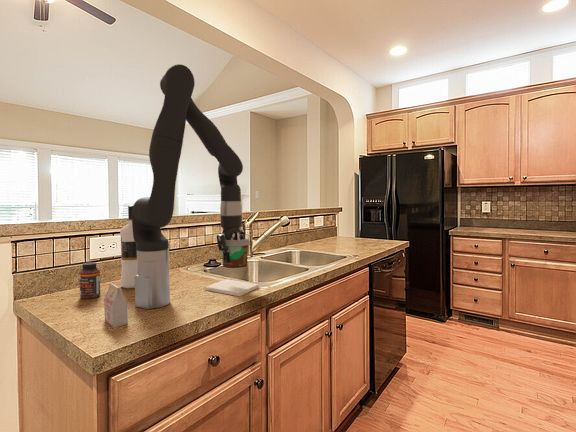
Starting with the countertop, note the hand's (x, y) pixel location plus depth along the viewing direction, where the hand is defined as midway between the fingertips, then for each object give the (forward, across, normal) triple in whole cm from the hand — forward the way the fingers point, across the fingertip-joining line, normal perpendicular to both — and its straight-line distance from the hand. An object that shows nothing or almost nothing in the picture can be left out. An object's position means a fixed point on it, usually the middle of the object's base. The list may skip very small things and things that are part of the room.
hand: (231, 260), depth 122 cm
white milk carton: (+10, -40, +8) cm, 42 cm away
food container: (+2, -1, 0) cm, 2 cm away
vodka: (+10, -14, +35) cm, 39 cm away
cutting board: (+10, 0, 0) cm, 10 cm away
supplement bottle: (+10, -30, +36) cm, 48 cm away
